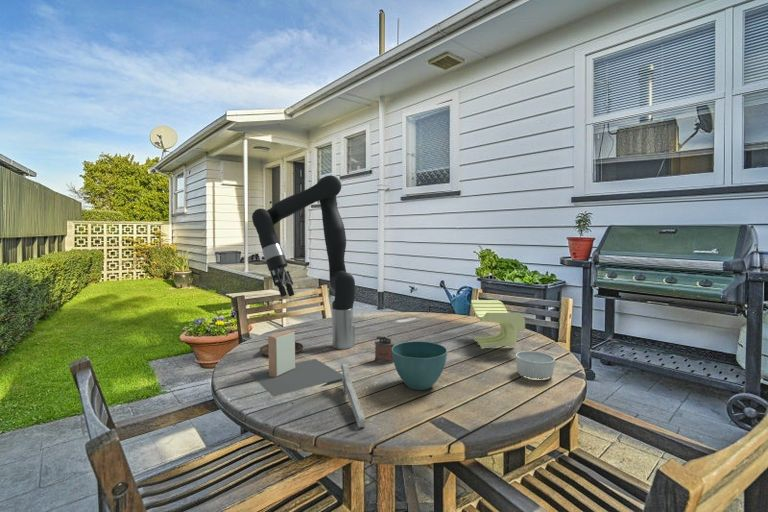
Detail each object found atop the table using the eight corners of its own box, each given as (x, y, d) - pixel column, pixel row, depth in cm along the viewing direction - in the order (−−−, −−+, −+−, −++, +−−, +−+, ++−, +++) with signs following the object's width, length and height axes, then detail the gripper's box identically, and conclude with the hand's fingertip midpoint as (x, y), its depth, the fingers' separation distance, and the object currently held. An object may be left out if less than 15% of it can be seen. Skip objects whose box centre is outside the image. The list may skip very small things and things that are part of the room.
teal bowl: (432, 401, 116) (432, 361, 115) (381, 388, 125) (381, 351, 124) (454, 381, 131) (455, 346, 130) (407, 371, 140) (408, 338, 140)
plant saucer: (292, 362, 150) (292, 355, 150) (251, 359, 154) (251, 352, 154) (309, 349, 168) (309, 342, 168) (272, 347, 171) (272, 340, 171)
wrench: (358, 439, 100) (340, 383, 128) (365, 438, 100) (345, 382, 129) (359, 411, 98) (340, 360, 127) (366, 410, 99) (346, 360, 127)
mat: (315, 361, 151) (315, 358, 151) (347, 380, 132) (347, 377, 132) (248, 375, 136) (248, 373, 136) (273, 399, 117) (273, 396, 117)
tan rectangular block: (268, 375, 133) (268, 336, 133) (288, 366, 142) (288, 329, 141) (276, 377, 132) (275, 337, 131) (295, 368, 141) (295, 330, 140)
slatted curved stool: (524, 355, 159) (525, 312, 158) (485, 355, 160) (486, 312, 158) (503, 335, 189) (503, 300, 188) (470, 335, 190) (471, 300, 188)
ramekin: (556, 385, 128) (556, 364, 128) (514, 379, 133) (514, 360, 133) (553, 371, 141) (553, 353, 140) (515, 367, 145) (515, 349, 145)
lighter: (395, 361, 152) (395, 336, 151) (391, 363, 149) (392, 338, 148) (377, 358, 155) (377, 334, 154) (373, 361, 152) (373, 336, 151)
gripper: (276, 252, 145) (290, 292, 143) (289, 255, 159) (302, 292, 157) (258, 259, 145) (272, 299, 143) (273, 262, 159) (286, 299, 157)
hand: (288, 295), depth 150 cm, fingers open, 8 cm apart
